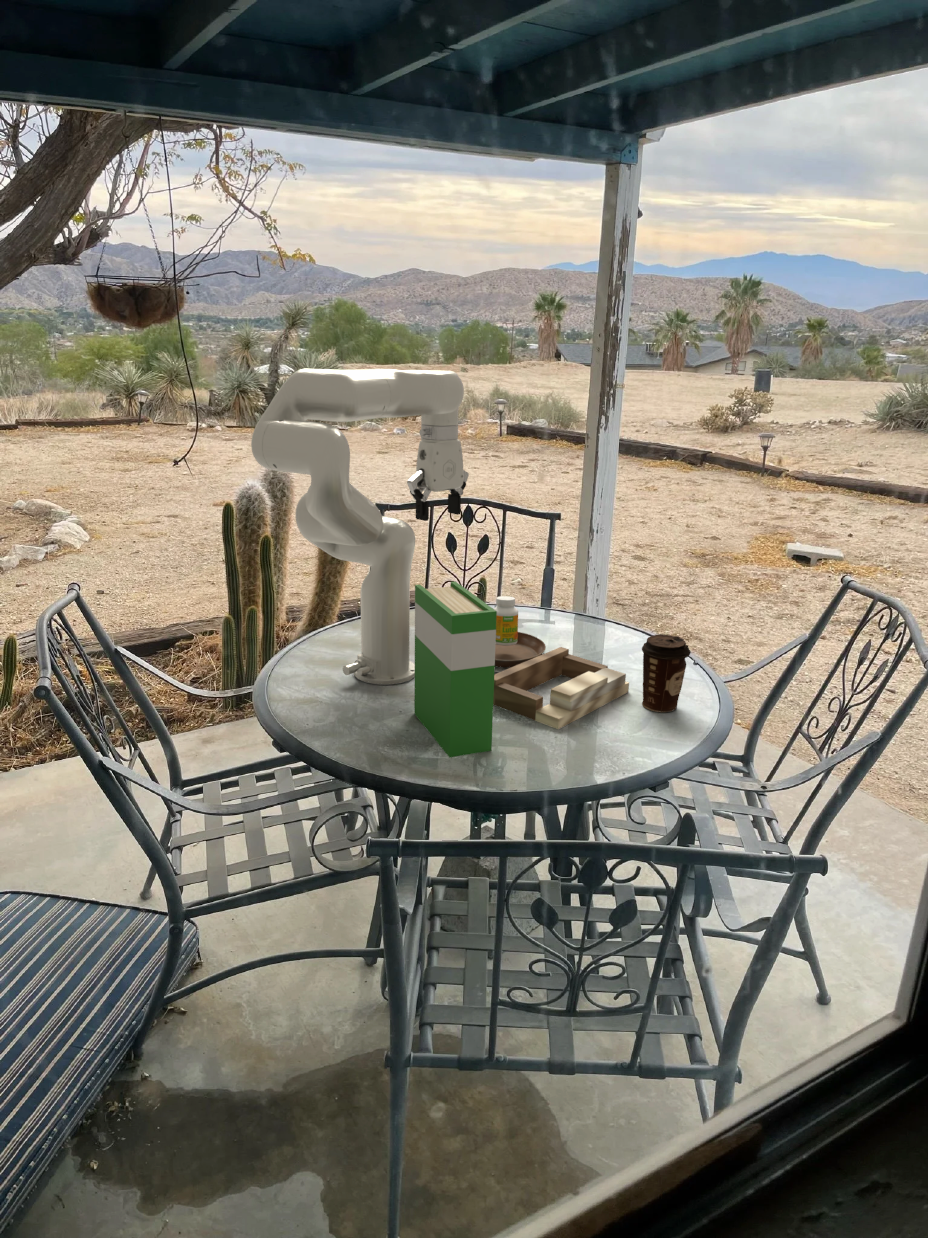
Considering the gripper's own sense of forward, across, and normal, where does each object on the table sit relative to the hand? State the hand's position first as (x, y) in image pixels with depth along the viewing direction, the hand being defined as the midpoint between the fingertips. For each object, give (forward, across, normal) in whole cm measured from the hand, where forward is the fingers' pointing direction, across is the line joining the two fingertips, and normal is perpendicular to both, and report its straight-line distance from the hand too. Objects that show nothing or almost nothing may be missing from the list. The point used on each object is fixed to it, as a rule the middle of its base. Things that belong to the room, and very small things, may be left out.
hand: (438, 516), depth 178 cm
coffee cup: (+28, +5, -52) cm, 60 cm away
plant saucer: (+29, +5, -15) cm, 33 cm away
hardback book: (+29, -30, -32) cm, 52 cm away
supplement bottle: (+26, +5, -15) cm, 30 cm away
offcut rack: (+28, -5, -36) cm, 46 cm away
